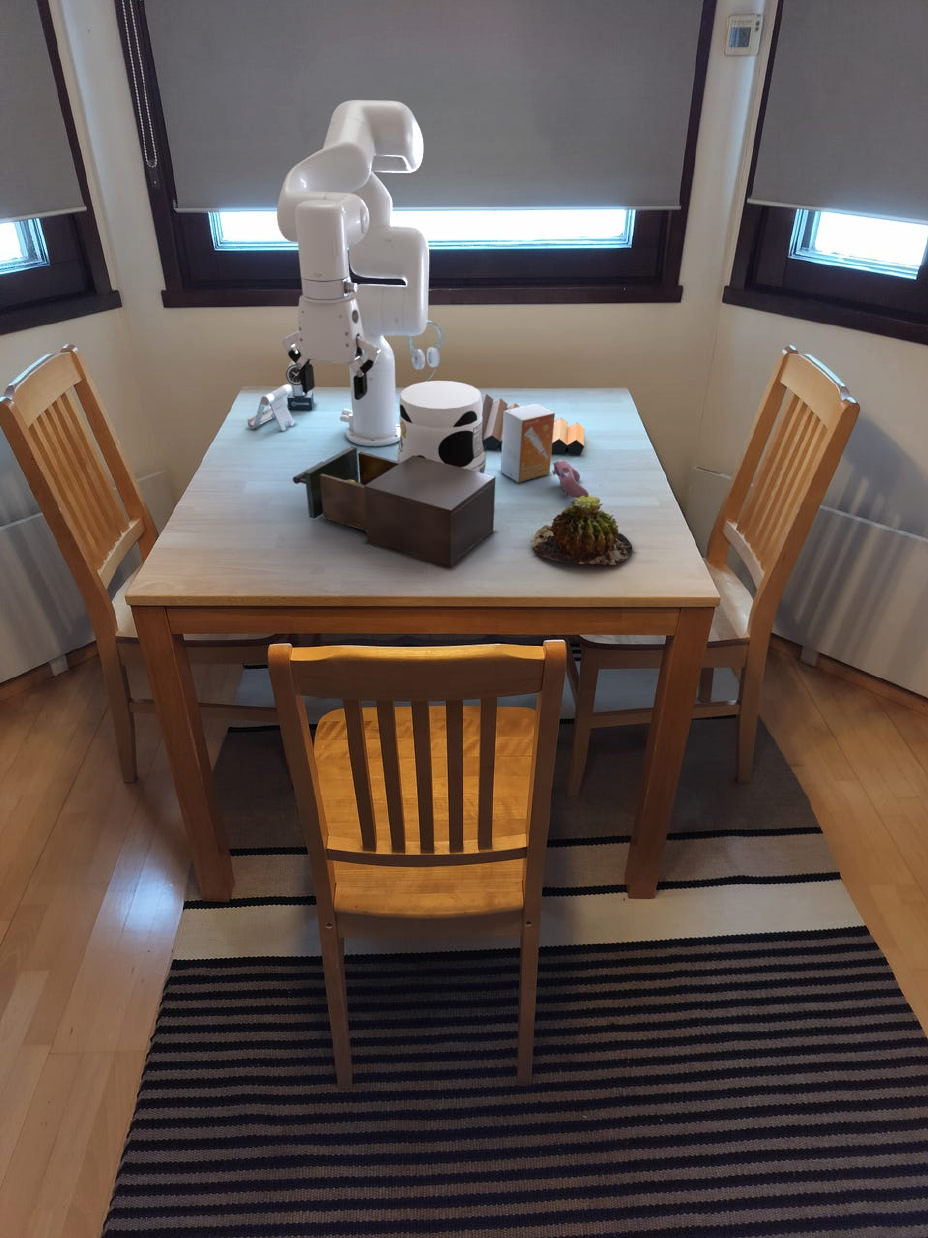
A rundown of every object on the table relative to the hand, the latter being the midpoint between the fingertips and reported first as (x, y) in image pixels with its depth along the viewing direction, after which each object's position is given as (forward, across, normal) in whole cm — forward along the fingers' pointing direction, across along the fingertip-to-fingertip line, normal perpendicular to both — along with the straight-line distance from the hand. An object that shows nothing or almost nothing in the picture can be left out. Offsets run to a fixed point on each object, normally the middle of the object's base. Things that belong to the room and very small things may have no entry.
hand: (334, 393), depth 141 cm
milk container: (+22, -13, -17) cm, 31 cm away
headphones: (+23, +5, -55) cm, 60 cm away
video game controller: (+22, -38, -22) cm, 49 cm away
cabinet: (+22, -19, +4) cm, 29 cm away
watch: (+23, +32, -45) cm, 60 cm away
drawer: (+21, -3, +1) cm, 21 cm away
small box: (+22, -27, -27) cm, 45 cm away
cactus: (+22, -44, -2) cm, 50 cm away
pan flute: (+22, -22, -50) cm, 59 cm away
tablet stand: (+22, +33, -33) cm, 51 cm away
